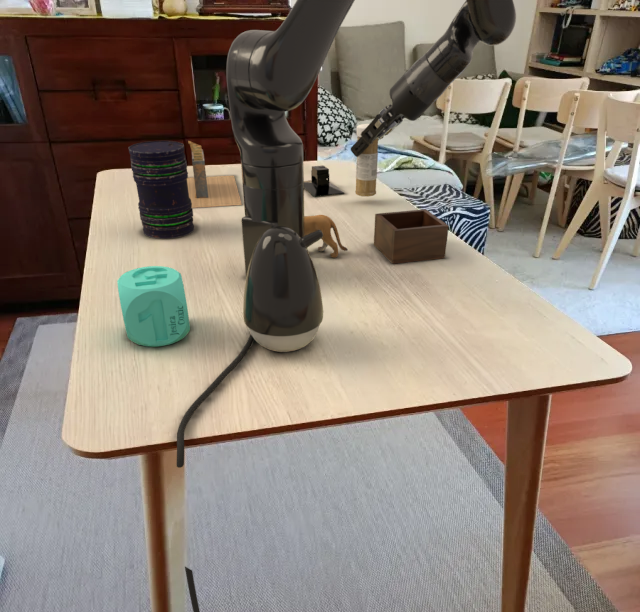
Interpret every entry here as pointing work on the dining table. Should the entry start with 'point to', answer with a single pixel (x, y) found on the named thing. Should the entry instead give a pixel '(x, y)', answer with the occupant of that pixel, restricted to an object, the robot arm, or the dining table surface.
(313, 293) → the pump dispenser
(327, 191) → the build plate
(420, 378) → the dining table surface
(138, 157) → the dark barrel
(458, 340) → the dining table surface
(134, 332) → the decorative dice
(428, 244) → the box
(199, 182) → the ruin model on sheet
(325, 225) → the lion figurine
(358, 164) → the sprinkles bottle
